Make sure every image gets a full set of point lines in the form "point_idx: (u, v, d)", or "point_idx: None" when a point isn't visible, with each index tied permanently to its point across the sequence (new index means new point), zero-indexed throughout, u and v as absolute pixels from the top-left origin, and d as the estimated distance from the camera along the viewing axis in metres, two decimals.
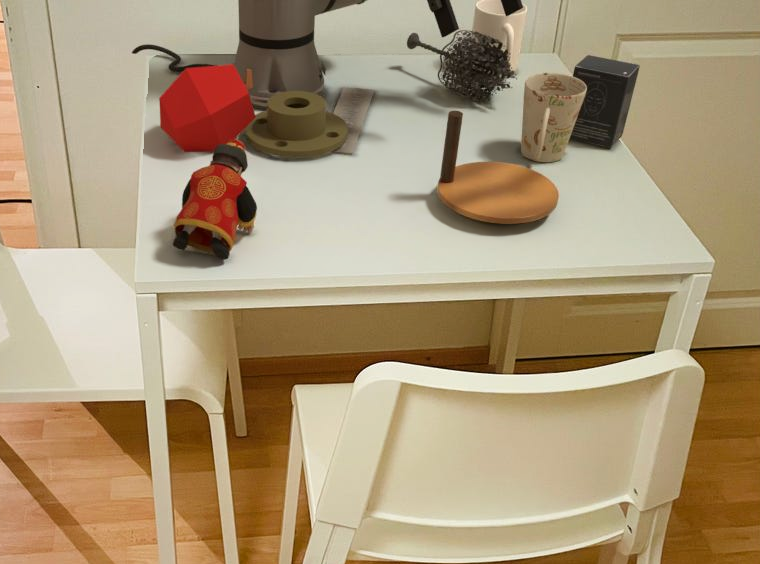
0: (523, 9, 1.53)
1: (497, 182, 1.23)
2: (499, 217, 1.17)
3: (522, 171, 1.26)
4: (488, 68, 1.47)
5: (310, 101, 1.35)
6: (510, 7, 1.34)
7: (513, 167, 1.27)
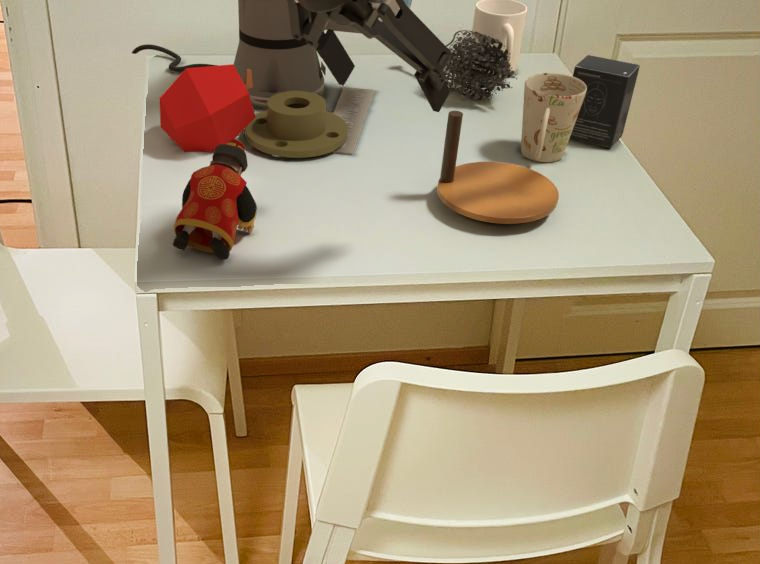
0: (523, 9, 1.53)
1: (497, 182, 1.23)
2: (499, 217, 1.17)
3: (522, 171, 1.26)
4: (488, 68, 1.47)
5: (310, 101, 1.35)
6: None
7: (513, 167, 1.27)
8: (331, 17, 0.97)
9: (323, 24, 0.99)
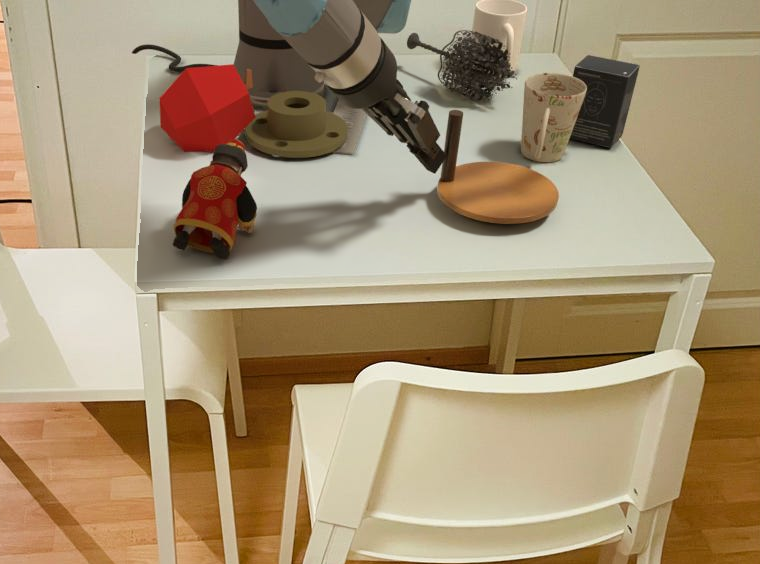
0: (523, 9, 1.53)
1: (498, 183, 1.23)
2: (497, 217, 1.17)
3: (523, 171, 1.26)
4: (488, 68, 1.47)
5: (310, 101, 1.35)
6: None
7: (515, 167, 1.27)
8: None
9: (375, 114, 1.10)
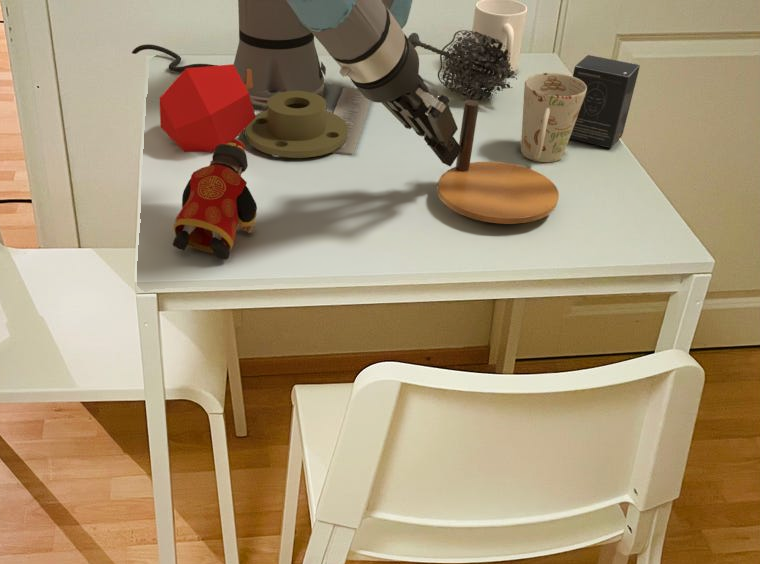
0: (523, 9, 1.53)
1: (504, 184, 1.23)
2: (463, 209, 1.18)
3: (542, 183, 1.24)
4: (488, 68, 1.47)
5: (310, 101, 1.35)
6: None
7: (539, 177, 1.25)
8: None
9: (395, 108, 1.12)
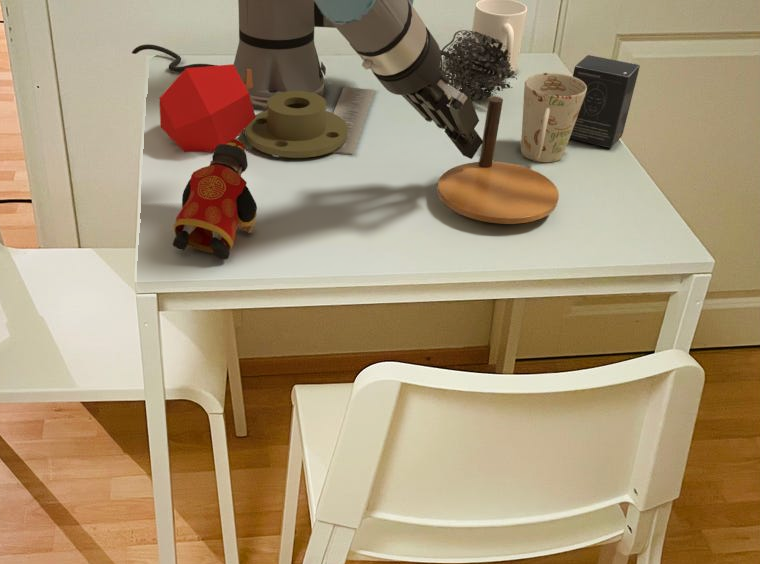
0: (523, 9, 1.53)
1: (508, 186, 1.23)
2: (443, 196, 1.21)
3: (547, 195, 1.21)
4: (488, 68, 1.47)
5: (310, 101, 1.35)
6: None
7: (550, 190, 1.22)
8: None
9: (416, 101, 1.14)
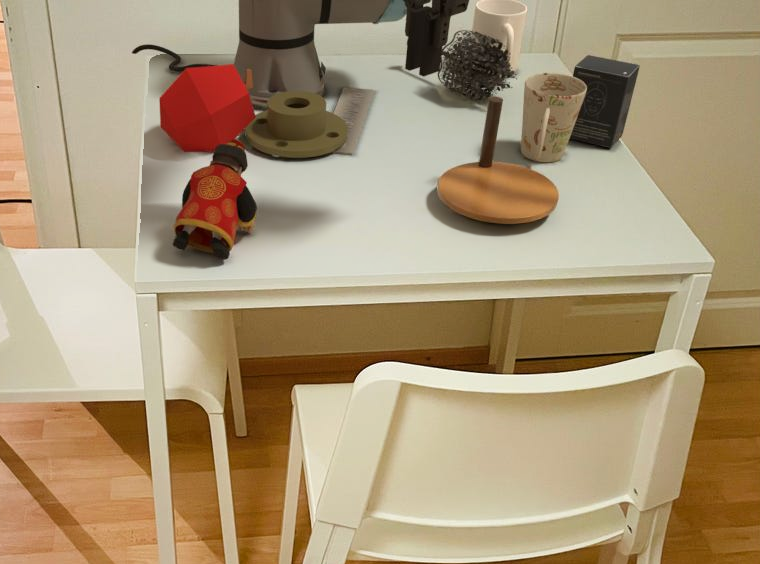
0: (523, 9, 1.53)
1: (508, 186, 1.23)
2: (443, 196, 1.21)
3: (547, 195, 1.21)
4: (488, 68, 1.47)
5: (310, 101, 1.35)
6: None
7: (550, 190, 1.22)
8: None
9: None
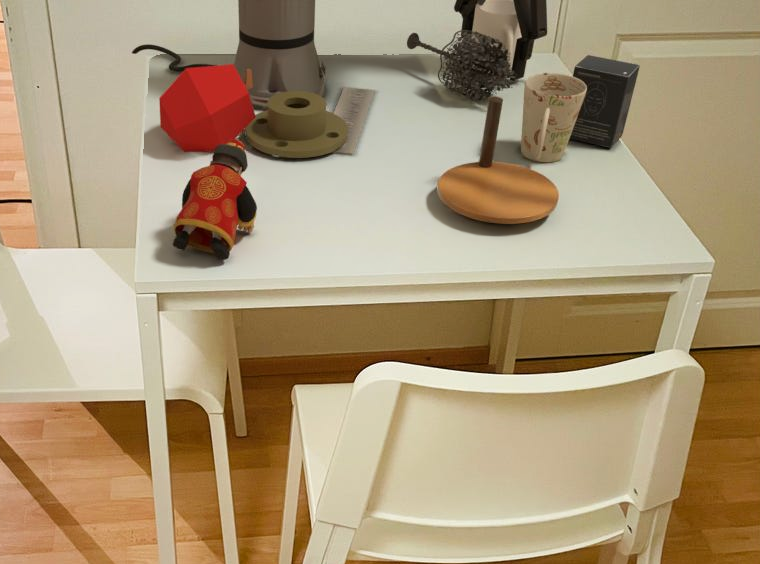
0: None
1: (508, 186, 1.23)
2: (443, 196, 1.21)
3: (547, 195, 1.21)
4: (488, 68, 1.47)
5: (310, 101, 1.35)
6: None
7: (550, 190, 1.22)
8: None
9: None
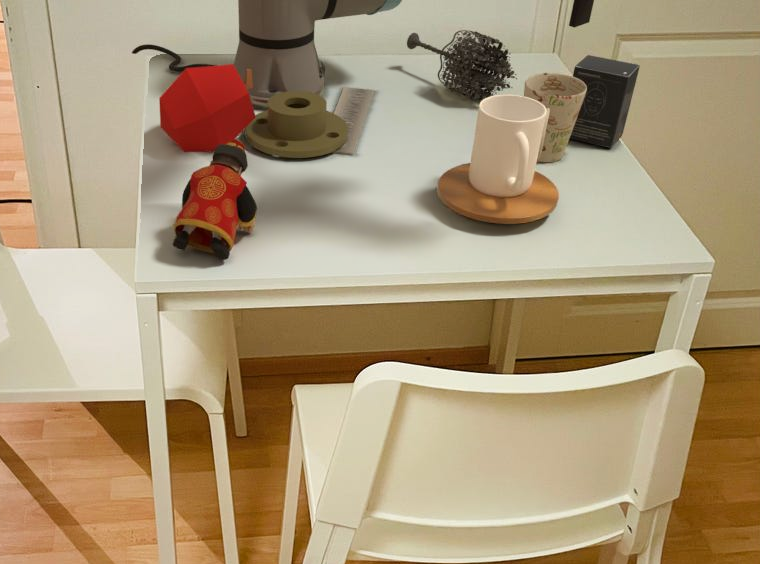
0: (541, 110, 1.17)
1: None
2: (443, 196, 1.21)
3: (547, 195, 1.21)
4: (488, 68, 1.47)
5: (310, 101, 1.35)
6: None
7: (550, 190, 1.22)
8: None
9: None
